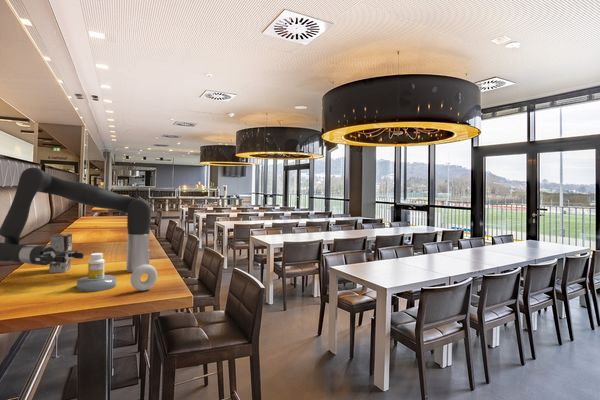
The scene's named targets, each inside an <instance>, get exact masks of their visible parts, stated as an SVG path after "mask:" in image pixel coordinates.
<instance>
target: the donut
mask: <svg viewBox="0 0 600 400" xmlns="http://www.w3.org/2000/svg"><path fill="white" fill-rule="evenodd" d="M145 274H146V275H147V279H146V280H145V281H141V277H142V276H143V275H145ZM157 280H158V271H157V269H156V268H155V267H154V266H153V265H151V264H149V265H148V264H144V265H140V266H139V267H137V268H136V269H135V270H134V271H133V272H131V274H130V279H129V281H130V285H131V286H132V288H133V289H135V291H142V292H144V291H147V290H149V289H151V288H153V286H154V285H155V284H156V282H157Z"/></svg>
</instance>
